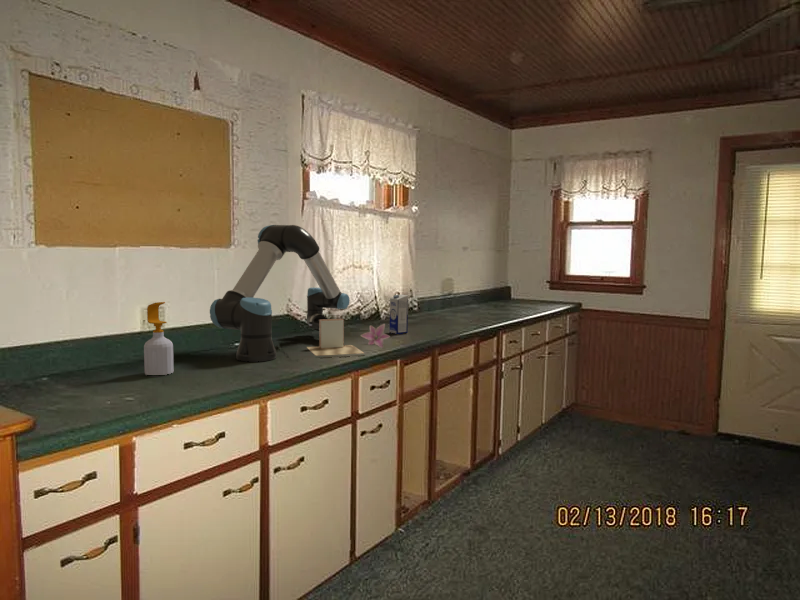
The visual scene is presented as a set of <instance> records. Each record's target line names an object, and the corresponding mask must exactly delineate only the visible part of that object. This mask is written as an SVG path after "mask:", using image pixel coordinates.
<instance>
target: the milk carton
mask: <svg viewBox="0 0 800 600" xmlns="http://www.w3.org/2000/svg"><path fill="white" fill-rule="evenodd" d="M408 315H409V295H407V294H395V295H393V296H392V297H389V333H390V332H391V333H390V334H392V333H395V334H394V335H396V334H399V335H404V334H403V333H408V332H409V331H408V327H409V326H408V325H409V324H408V321H409V319H408V318H409V316H408Z"/></svg>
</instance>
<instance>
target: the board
mask: <svg viewBox="0 0 800 600" xmlns="http://www.w3.org/2000/svg"><path fill="white" fill-rule="evenodd" d="M306 349H308V350H309V351H310V353H312V354H313V355H314V356H317V357H318V356H319V357H320V356H327V357H321V359H333V358H332V357H333V356H336V355H337V356H338V355H340V358H351V357H350V356H351V355H356V354H361V355H359V357H365V355H362V354H365V352H363V351H362V350H361V349H359V348H358V347H356V346H355V345H352V344H345V345H344V348H323V349H320V348H319V345H318V346H306ZM342 355H344V356H342ZM345 355H346V356H345Z"/></svg>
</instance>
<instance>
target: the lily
mask: <svg viewBox="0 0 800 600" xmlns="http://www.w3.org/2000/svg"><path fill="white" fill-rule="evenodd" d="M385 328H386V323H382V324H380V325H379V326H377V327H374V326H373V325H369V331H367V332H366V331H365V332H364V333H361V334H360V337H362V338H363V339H366V340H368V342H367V345H370V346H371V345H376V346H378V348H380V349H384V340H387V339H389V338H390V337H391V336H390V335H389V334H387V333H385Z"/></svg>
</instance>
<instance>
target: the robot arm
mask: <svg viewBox="0 0 800 600" xmlns="http://www.w3.org/2000/svg"><path fill="white" fill-rule="evenodd" d="M257 238H258V239H257V249H258V250H257V252H256V253H255V255H254V256H253V258H252V260H251V261H250V263H249V264H248V266H247V267H246V269H244V272H243V273H242V275H241V276H240V278H239V280H238V281H237V283H236V284H235V285H234V287H233V289H231V290H227V291H226V292H225V293H224V295H223V297H222V298H217V299H214V301H212V303H211V305H210V307H209V315H210V316H209V317H210V320H211V322H212V323H213V325H215V326H216V327H217V328H220V329H224V330H228V329H229V330H236V331H237V330H238V331H240V341H239V344H238V347H237V351H236V360H237V361H240V360H241V362H247V361H249V362H252V363H254V362H257V363H258V361H259V362H269V361H272V360H276V358H277V350H276V347H275V344H274V342H273V338H272V334H273V333H272V332H273V331H272V329H273V326H272V325H273V324H272V323H273V320H272V317H273V316H272V315H273V311H272V303H271V301H269V300H267V299H265V298H261V297H255V296H256V294H257V292H258V291H259V289H260V288H261V286H262V284H263V282H264V281H265V280H266V278H267V276H268V274H269V273H270V271H271V269H272V268H273V266H274V265H275V263H276V261H280V260H281V259H282V258H283V257H284V255H285V254H286V253H295V254H297V255H298V257H299V258H300V259H301V260H303V262H305V264H306V267H307V268H308V270H309V271H310V273H311V274H312V276H313V278H314V280H315V282H316V284H317V285H318V286H319V287H309V288H308V289H307V295H306V297H307V298H306V299H307V301H306V302H307V303H306V305H307V306H306V307H307V313H306V315H307V320H306V319H305V321H307V322H306V324H307V325H308V328H310V329H311V328H312V329H314V330H316V331H318V332H319V320H322V319H328V317H327V316H325V315H323V314H324V312H323V311H324V309H335V310H345V309H347V308H348V307H349V305H350V297H349V294H347V293H344V292H343V293H342V292H341V290H340V288H339V286H338V284H337V283H336V281H335V278H334V277H333V275H332V273H331V272H330V270H329V268H328V265H327V264H326V263H325V260H324V258H323V257H322V255H321V253H320V246H319V244H318V243H317V241H316V239H315V238H314V237H313V236H312V235H311V234H310V233H309V231H307V230H306V229H305V228H303V227H302V226H299V225H296V224H287V225H286V224H280V225H279V224H271V225H265V226H264V227H262V228H261V229H260V231H259V233H258V234H257Z"/></svg>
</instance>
